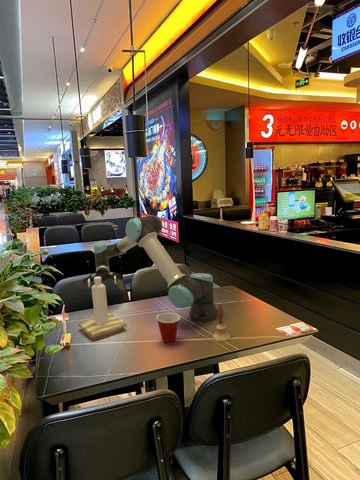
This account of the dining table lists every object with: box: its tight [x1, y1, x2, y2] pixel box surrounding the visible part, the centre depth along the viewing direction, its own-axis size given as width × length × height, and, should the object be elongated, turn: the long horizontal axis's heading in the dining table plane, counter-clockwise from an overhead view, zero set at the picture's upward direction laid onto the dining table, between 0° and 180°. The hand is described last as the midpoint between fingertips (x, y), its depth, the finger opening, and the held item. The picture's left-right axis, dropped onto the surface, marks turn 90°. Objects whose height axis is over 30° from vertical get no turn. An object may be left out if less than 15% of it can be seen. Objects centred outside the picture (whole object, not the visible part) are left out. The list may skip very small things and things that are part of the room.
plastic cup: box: [155, 312, 181, 345], centre depth 163 cm, size 11×11×12 cm
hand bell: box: [212, 303, 232, 342], centre depth 163 cm, size 8×8×16 cm
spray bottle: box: [90, 277, 109, 325], centre depth 177 cm, size 7×7×25 cm
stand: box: [77, 312, 128, 341], centre depth 179 cm, size 18×18×4 cm
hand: (102, 282), depth 187 cm, fingers open, 13 cm apart
